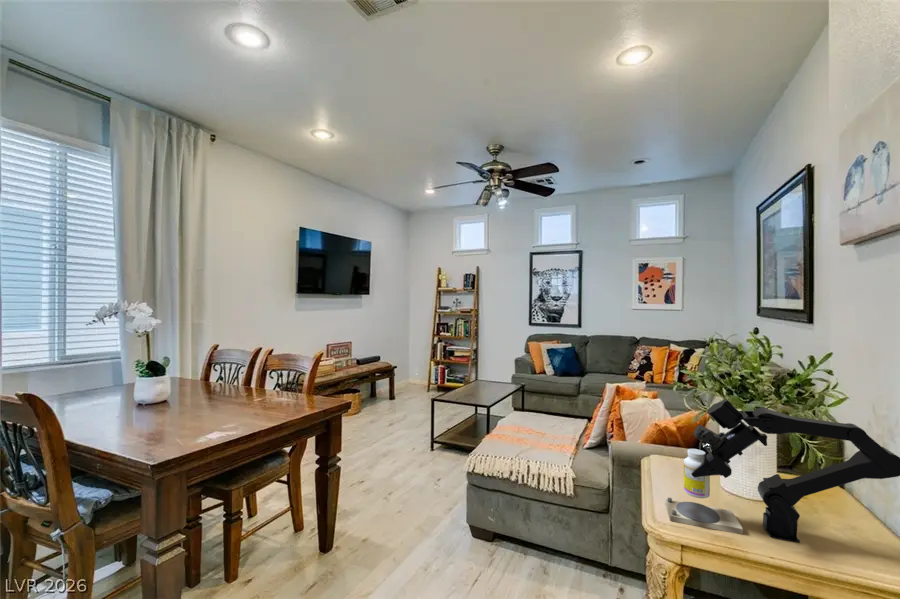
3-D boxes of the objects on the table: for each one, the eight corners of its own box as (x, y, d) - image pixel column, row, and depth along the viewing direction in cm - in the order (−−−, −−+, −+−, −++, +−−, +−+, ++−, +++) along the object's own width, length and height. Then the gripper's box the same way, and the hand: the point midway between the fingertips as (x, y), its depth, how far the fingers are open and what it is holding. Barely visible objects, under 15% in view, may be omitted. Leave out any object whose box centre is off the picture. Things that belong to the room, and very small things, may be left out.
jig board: (730, 514, 121) (731, 506, 121) (743, 535, 110) (743, 526, 110) (664, 503, 127) (664, 495, 127) (670, 521, 117) (670, 513, 117)
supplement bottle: (695, 487, 124) (695, 446, 124) (715, 497, 118) (715, 454, 118) (678, 490, 122) (678, 448, 122) (697, 501, 116) (698, 457, 116)
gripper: (708, 410, 126) (668, 439, 131) (717, 428, 110) (671, 460, 115) (738, 438, 123) (696, 467, 128) (752, 461, 106) (703, 493, 111)
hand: (691, 470), depth 121 cm, fingers closed on supplement bottle, 7 cm apart
